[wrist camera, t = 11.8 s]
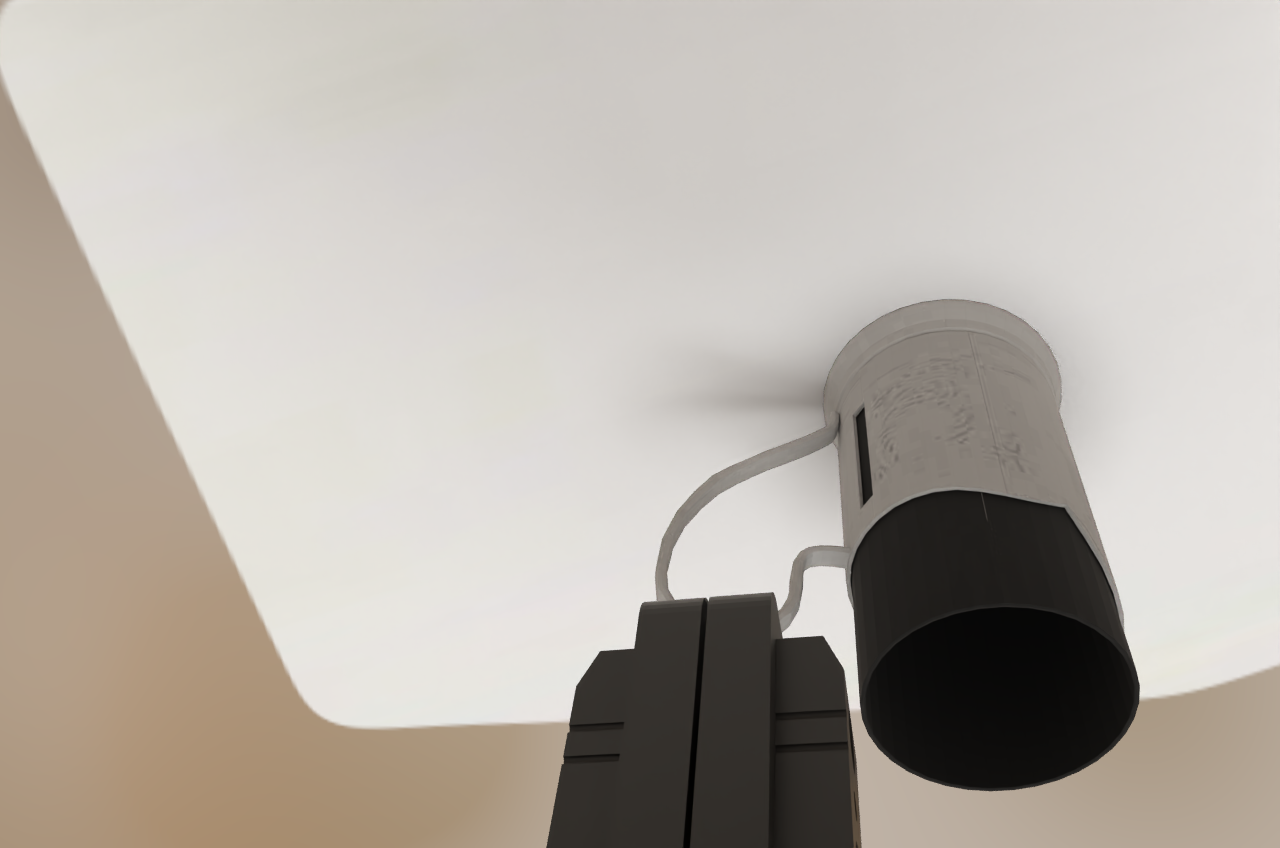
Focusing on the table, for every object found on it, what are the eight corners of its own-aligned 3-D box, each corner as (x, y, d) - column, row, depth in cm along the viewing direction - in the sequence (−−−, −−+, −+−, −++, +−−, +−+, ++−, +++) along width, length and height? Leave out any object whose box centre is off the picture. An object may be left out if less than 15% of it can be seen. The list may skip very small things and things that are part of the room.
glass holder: (1029, 504, 48) (1112, 821, 36) (672, 466, 49) (635, 765, 37) (1089, 312, 43) (1210, 605, 31) (690, 272, 44) (654, 544, 32)
